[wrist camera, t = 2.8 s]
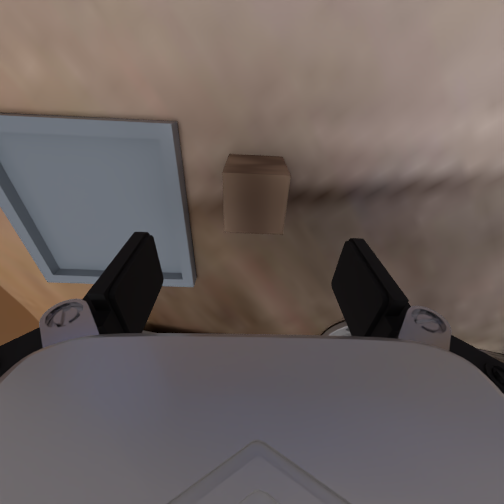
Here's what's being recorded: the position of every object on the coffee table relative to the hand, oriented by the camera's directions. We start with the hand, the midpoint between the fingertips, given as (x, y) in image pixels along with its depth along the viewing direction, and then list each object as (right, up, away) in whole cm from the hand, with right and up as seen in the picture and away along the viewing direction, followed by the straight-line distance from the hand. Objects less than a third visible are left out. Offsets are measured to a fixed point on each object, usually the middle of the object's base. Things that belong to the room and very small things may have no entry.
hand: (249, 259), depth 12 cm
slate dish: (-16, +5, +13) cm, 21 cm away
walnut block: (0, +7, +12) cm, 14 cm away
